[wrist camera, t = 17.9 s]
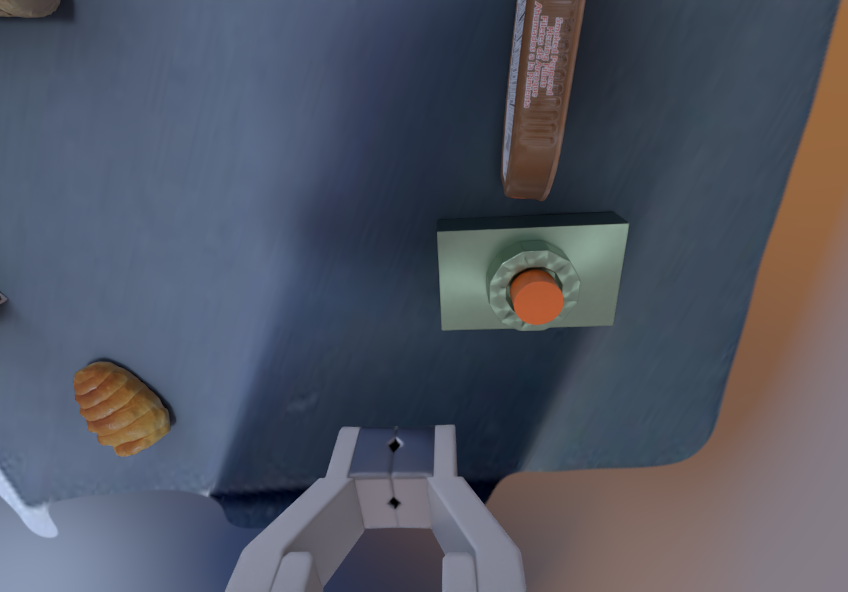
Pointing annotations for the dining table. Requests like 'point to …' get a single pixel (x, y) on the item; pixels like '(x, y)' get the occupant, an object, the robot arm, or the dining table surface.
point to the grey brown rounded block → (2, 299)
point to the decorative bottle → (28, 8)
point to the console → (529, 267)
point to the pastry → (120, 408)
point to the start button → (536, 297)
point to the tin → (538, 94)
